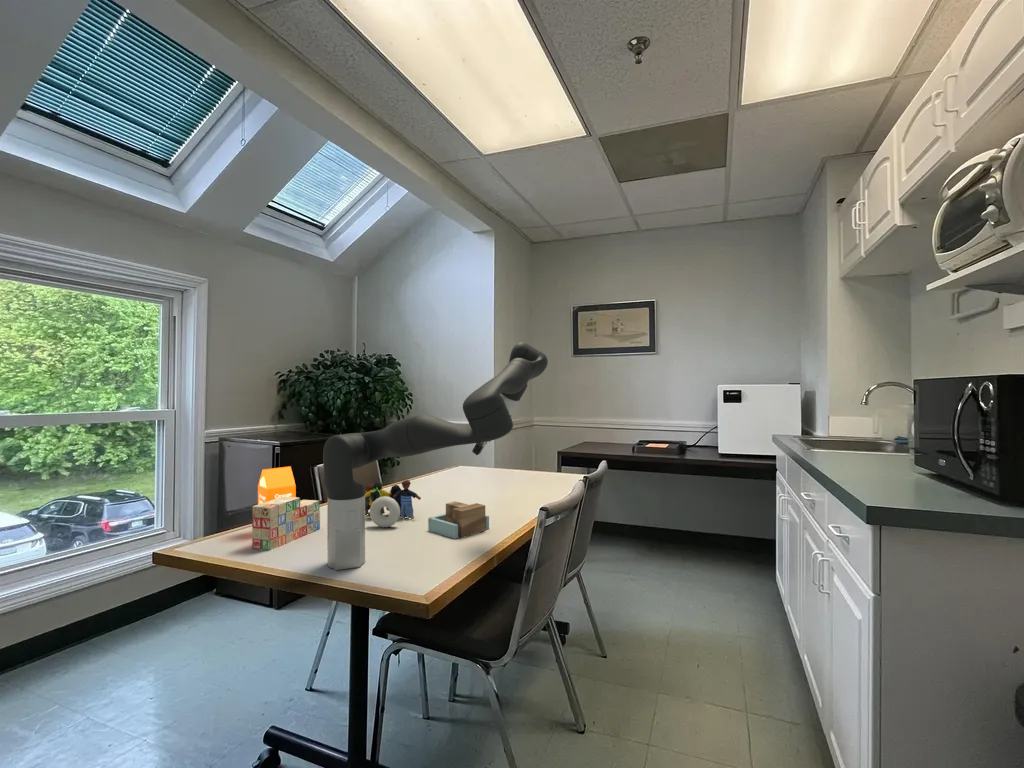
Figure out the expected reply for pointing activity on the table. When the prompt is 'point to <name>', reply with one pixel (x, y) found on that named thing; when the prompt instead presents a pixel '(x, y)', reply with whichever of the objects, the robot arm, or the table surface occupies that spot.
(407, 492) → the doll family
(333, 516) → the robot arm
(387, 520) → the donut
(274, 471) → the orange juice
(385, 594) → the table surface
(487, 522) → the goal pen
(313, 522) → the stack of blocks
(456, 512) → the tee block
